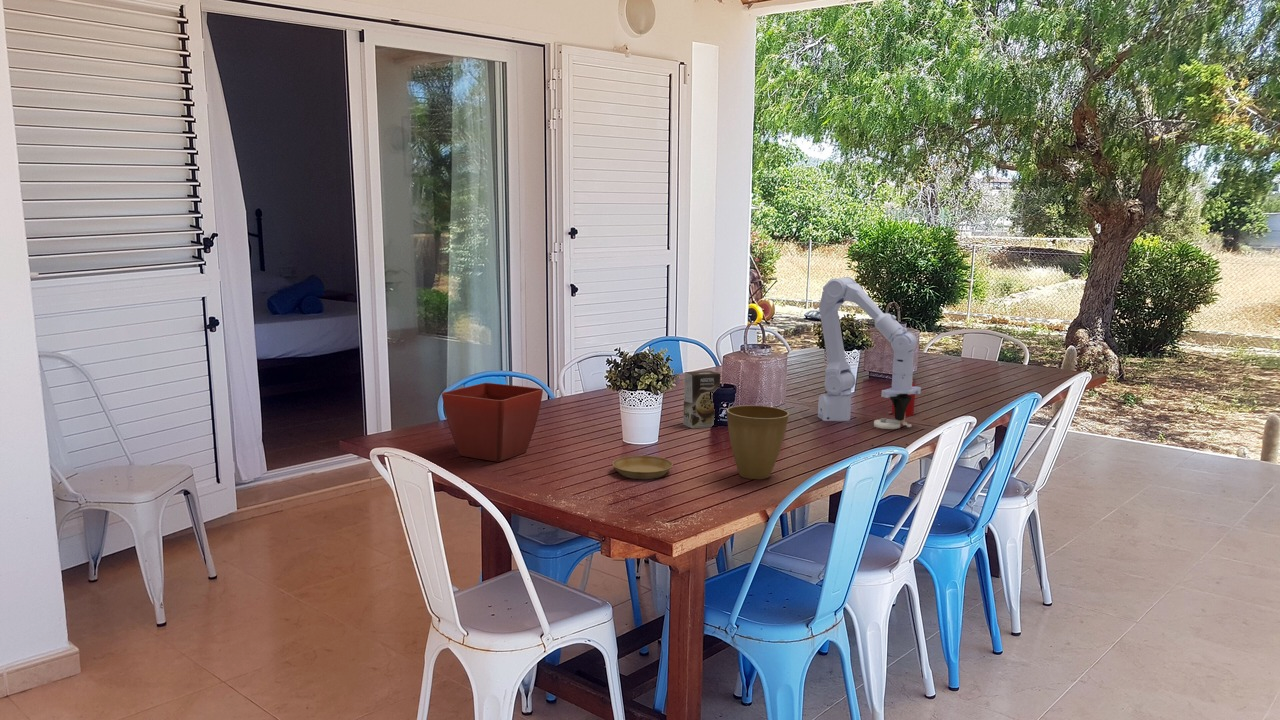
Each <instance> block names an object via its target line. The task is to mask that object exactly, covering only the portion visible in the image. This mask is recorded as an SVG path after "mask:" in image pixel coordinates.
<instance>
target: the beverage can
mask: <svg viewBox="0 0 1280 720" xmlns="http://www.w3.org/2000/svg"><path fill="white" fill-rule="evenodd" d="M915 386H916V384H915V383H914V380H913V379H912V387H915ZM908 396H911V401H910V402H909V404H908V406H907V408H906V410H905V417H911V416H914V414H915V399H916V397H915V396H916V394H910V395H908ZM891 414H892V415H894V416H895V408H894V405H893V403H892V402H891Z"/></svg>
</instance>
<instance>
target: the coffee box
mask: <svg viewBox="0 0 1280 720" xmlns="http://www.w3.org/2000/svg"><path fill="white" fill-rule="evenodd" d="M718 386H720V387H718ZM718 388H720V389H721V373H719V372H717V371H716V372H715V371H713V370H704V371H703V370H702V371H685V372H684V390H683V391H684V392H683V393H684V394H683V413H682V414H683V416H682V417H683V418H682V422H683V423H682V425H683V426H685V427H688V428H690V429H692V430H693V429H702V428H704V429H705V428H713V427H712V426H713V425H714V420H715V418H714V417H715V409H714V403H713V393H714V392H715V391H716V390H717V389H718ZM710 392H711V399H710ZM712 392H713V393H712Z"/></svg>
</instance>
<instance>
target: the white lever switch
mask: <svg viewBox="0 0 1280 720" xmlns="http://www.w3.org/2000/svg"><path fill="white" fill-rule="evenodd" d="M905 421H906V416H905V417H904V420H901V421H900V420H896V419H893V418H892V419H891V418H890V419H889V418H886V417H880V419H875V420H873V427H874V428H878V429H882V430H883V429H884V430H897V429H901V425H903V424H905Z"/></svg>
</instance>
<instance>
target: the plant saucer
mask: <svg viewBox="0 0 1280 720" xmlns="http://www.w3.org/2000/svg"><path fill="white" fill-rule="evenodd" d="M612 466H613V468H614V469H615V470H616V472H617V473H618V474H620V475H622V476H623V477H625V478H629V479H635V480H651V479H658V478H661V477H663V476H665V475H666V474H667V473H668V472H669V471H670V470H671V469H672V467H673V466H674V465H673V461H671V460H669V459H667V458H664V457H661V456H654V455H653V456H652V455H630V456H623V457H619V458H617V459H615V460H613V461H612Z"/></svg>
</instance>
